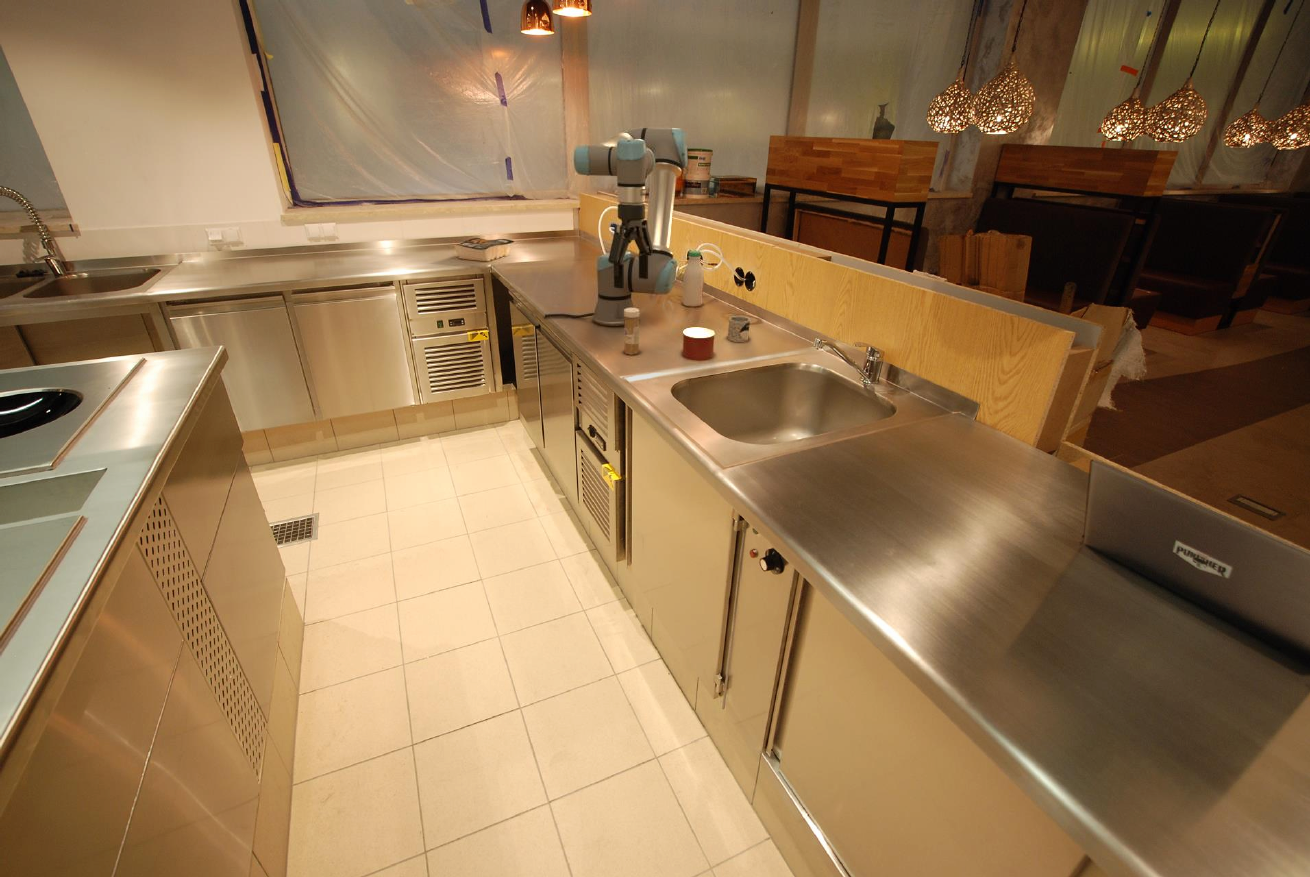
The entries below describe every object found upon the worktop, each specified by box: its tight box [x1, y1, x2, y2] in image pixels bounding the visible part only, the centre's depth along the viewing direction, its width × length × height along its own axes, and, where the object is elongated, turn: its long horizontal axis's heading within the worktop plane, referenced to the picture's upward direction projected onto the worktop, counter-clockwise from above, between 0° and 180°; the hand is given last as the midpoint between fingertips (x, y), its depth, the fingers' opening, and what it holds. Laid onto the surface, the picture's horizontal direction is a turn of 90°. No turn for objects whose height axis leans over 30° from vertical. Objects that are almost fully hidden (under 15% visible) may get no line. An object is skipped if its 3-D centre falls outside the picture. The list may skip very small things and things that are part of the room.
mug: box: [727, 315, 751, 343], centre depth 187 cm, size 10×7×7 cm
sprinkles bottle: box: [623, 307, 640, 356], centre depth 171 cm, size 5×5×13 cm
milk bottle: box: [682, 250, 705, 307], centre depth 219 cm, size 8×8×20 cm
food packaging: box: [448, 237, 516, 262], centre depth 294 cm, size 25×8×23 cm
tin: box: [682, 327, 716, 361], centre depth 172 cm, size 9×9×7 cm
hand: (631, 283), depth 164 cm, fingers open, 13 cm apart
